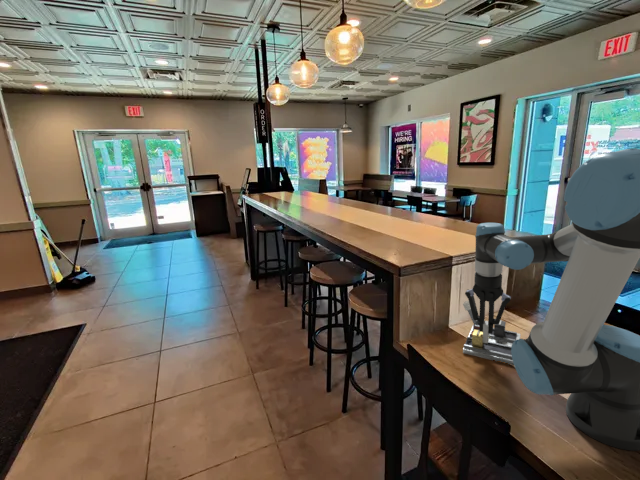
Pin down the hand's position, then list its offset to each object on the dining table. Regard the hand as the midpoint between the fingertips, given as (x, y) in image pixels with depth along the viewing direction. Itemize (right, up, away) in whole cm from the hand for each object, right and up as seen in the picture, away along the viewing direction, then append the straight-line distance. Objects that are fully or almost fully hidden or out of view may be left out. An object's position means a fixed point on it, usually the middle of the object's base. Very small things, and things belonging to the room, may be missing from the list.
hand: (485, 340), depth 103 cm
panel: (+4, -3, +4) cm, 7 cm away
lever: (+2, +2, +10) cm, 11 cm away
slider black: (+8, 0, +7) cm, 11 cm away
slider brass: (-2, -2, +2) cm, 3 cm away
